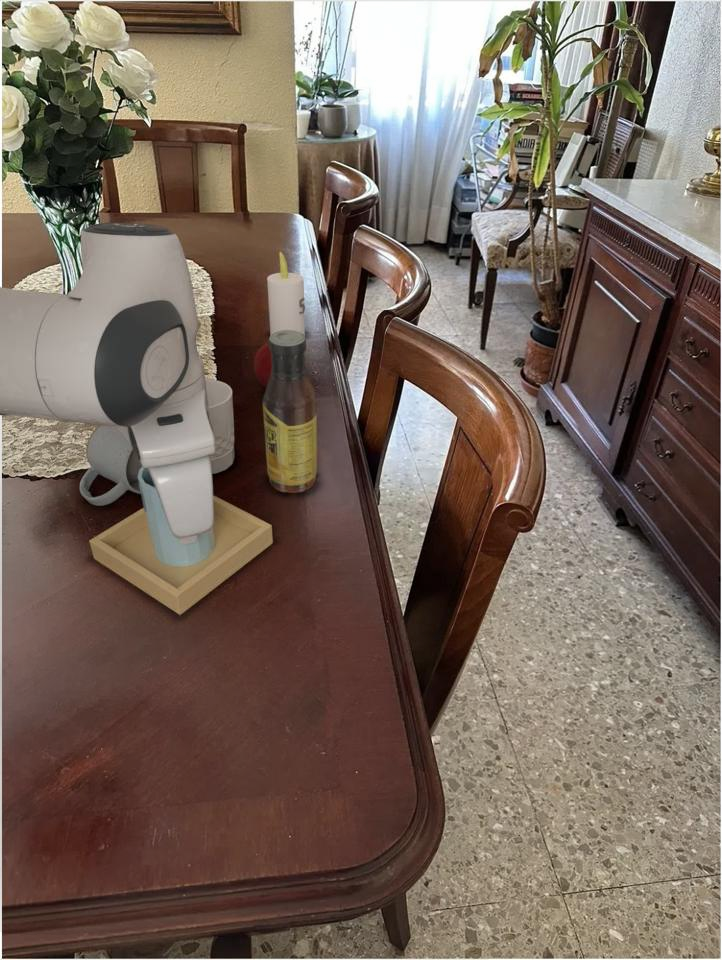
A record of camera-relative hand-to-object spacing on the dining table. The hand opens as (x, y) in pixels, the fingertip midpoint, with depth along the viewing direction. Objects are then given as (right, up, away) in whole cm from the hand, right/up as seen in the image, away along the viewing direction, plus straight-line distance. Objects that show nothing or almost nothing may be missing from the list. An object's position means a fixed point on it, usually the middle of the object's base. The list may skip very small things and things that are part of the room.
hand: (179, 516), depth 70 cm
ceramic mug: (-10, +3, +12) cm, 16 cm away
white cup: (-1, +6, +17) cm, 18 cm away
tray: (0, -4, +3) cm, 5 cm away
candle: (+6, +30, +52) cm, 60 cm away
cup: (0, -3, +2) cm, 4 cm away
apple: (+6, +18, +34) cm, 39 cm away
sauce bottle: (+11, +3, +14) cm, 18 cm away
